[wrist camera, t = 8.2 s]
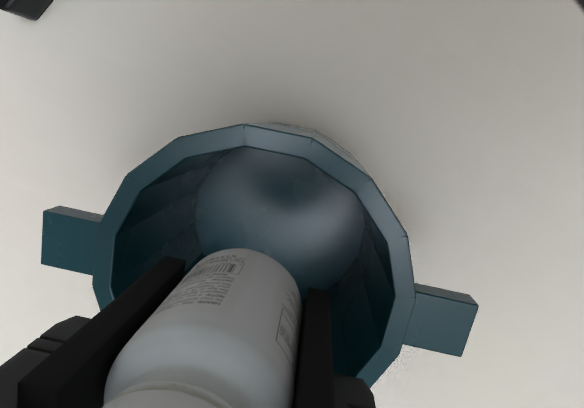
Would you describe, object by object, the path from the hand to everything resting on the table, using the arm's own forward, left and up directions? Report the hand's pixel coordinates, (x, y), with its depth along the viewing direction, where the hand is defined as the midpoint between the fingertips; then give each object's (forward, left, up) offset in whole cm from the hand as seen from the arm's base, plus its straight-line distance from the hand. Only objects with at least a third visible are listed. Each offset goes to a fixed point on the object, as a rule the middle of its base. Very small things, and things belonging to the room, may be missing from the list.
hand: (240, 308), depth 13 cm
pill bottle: (0, 0, 0) cm, 0 cm away
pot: (0, 0, -12) cm, 12 cm away
